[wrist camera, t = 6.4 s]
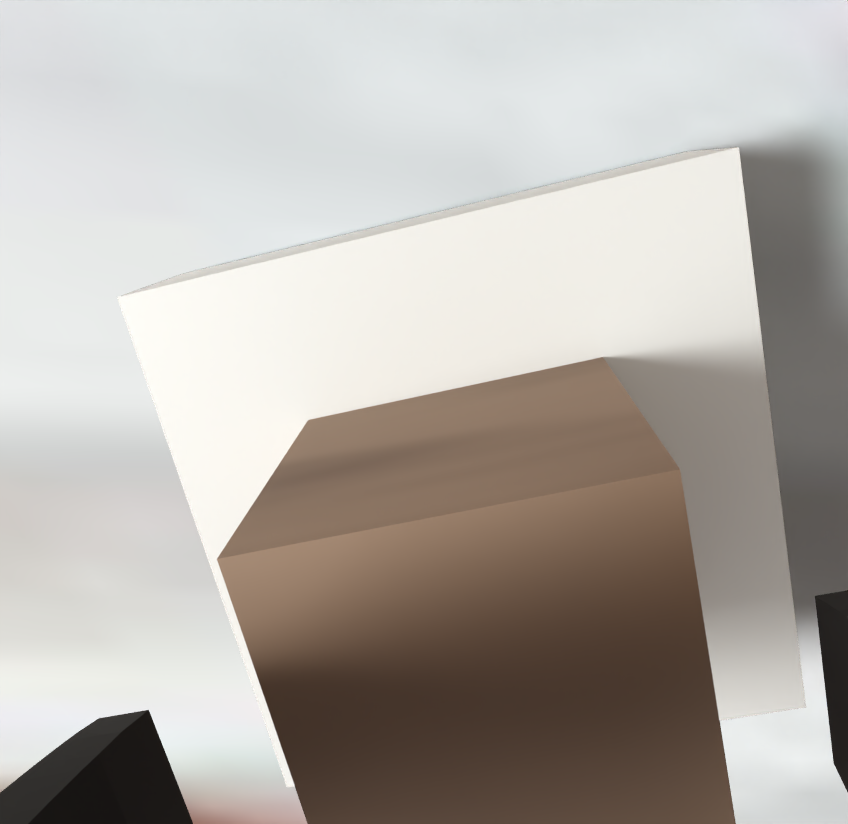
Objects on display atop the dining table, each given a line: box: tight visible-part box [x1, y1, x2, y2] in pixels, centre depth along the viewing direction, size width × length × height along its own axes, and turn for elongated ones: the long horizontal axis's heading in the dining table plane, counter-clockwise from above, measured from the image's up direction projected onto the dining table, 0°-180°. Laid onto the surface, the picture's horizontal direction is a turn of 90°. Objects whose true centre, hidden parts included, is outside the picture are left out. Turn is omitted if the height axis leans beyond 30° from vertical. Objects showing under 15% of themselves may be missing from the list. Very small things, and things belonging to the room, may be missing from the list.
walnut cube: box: [217, 357, 736, 824], centre depth 11 cm, size 5×5×5 cm
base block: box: [117, 147, 806, 787], centre depth 15 cm, size 10×10×3 cm
